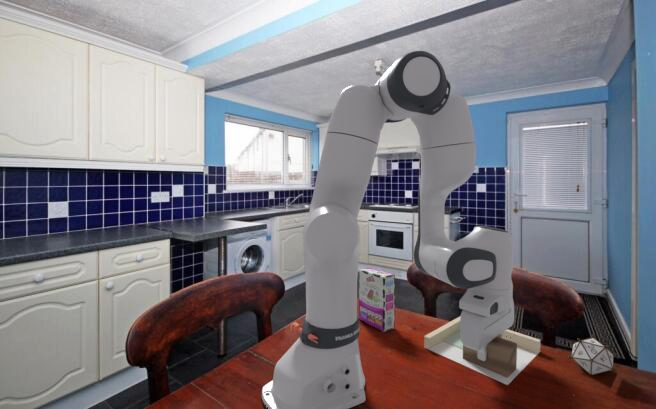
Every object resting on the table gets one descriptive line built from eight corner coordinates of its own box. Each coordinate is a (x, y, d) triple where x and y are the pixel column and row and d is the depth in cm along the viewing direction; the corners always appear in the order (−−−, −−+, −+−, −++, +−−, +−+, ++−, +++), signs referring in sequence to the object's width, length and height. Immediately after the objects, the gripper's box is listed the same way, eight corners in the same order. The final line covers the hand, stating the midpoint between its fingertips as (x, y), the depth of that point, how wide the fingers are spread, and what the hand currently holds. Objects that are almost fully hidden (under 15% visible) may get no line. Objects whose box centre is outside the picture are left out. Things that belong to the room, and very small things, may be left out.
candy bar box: (395, 328, 94) (396, 274, 93) (384, 333, 91) (384, 277, 90) (369, 315, 103) (369, 266, 102) (358, 319, 100) (358, 269, 99)
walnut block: (507, 377, 68) (508, 351, 68) (462, 358, 76) (463, 334, 75) (516, 369, 71) (517, 343, 71) (472, 351, 79) (473, 328, 79)
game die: (602, 393, 70) (638, 374, 63) (562, 376, 71) (593, 355, 65) (590, 356, 77) (622, 335, 70) (554, 341, 78) (582, 319, 72)
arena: (507, 388, 66) (508, 371, 66) (424, 350, 81) (424, 336, 81) (540, 354, 79) (540, 339, 78) (462, 327, 94) (462, 314, 94)
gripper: (495, 283, 82) (494, 335, 82) (455, 303, 69) (454, 364, 69) (522, 289, 77) (520, 344, 78) (484, 312, 64) (483, 377, 65)
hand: (489, 354), depth 73 cm, fingers closed on walnut block, 5 cm apart
